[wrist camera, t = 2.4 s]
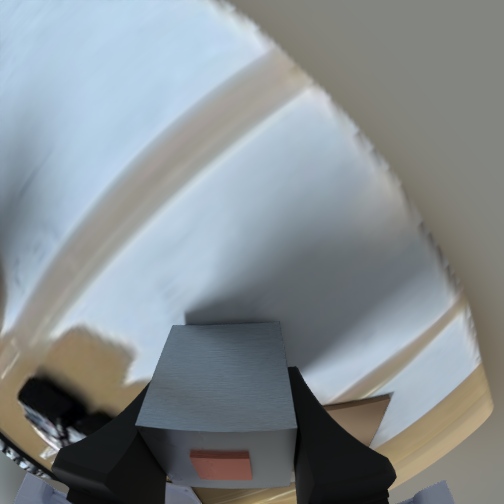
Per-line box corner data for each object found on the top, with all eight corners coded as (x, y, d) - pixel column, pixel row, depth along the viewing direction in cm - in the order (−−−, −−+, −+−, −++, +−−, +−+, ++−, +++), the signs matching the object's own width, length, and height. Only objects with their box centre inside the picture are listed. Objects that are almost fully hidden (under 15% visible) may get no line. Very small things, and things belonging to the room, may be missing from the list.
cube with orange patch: (279, 393, 14) (290, 489, 9) (191, 395, 14) (173, 488, 9) (279, 321, 13) (298, 433, 7) (172, 325, 13) (133, 429, 7)
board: (352, 464, 20) (358, 488, 17) (228, 476, 20) (227, 501, 18) (385, 388, 16) (400, 419, 13) (208, 406, 16) (204, 442, 13)
